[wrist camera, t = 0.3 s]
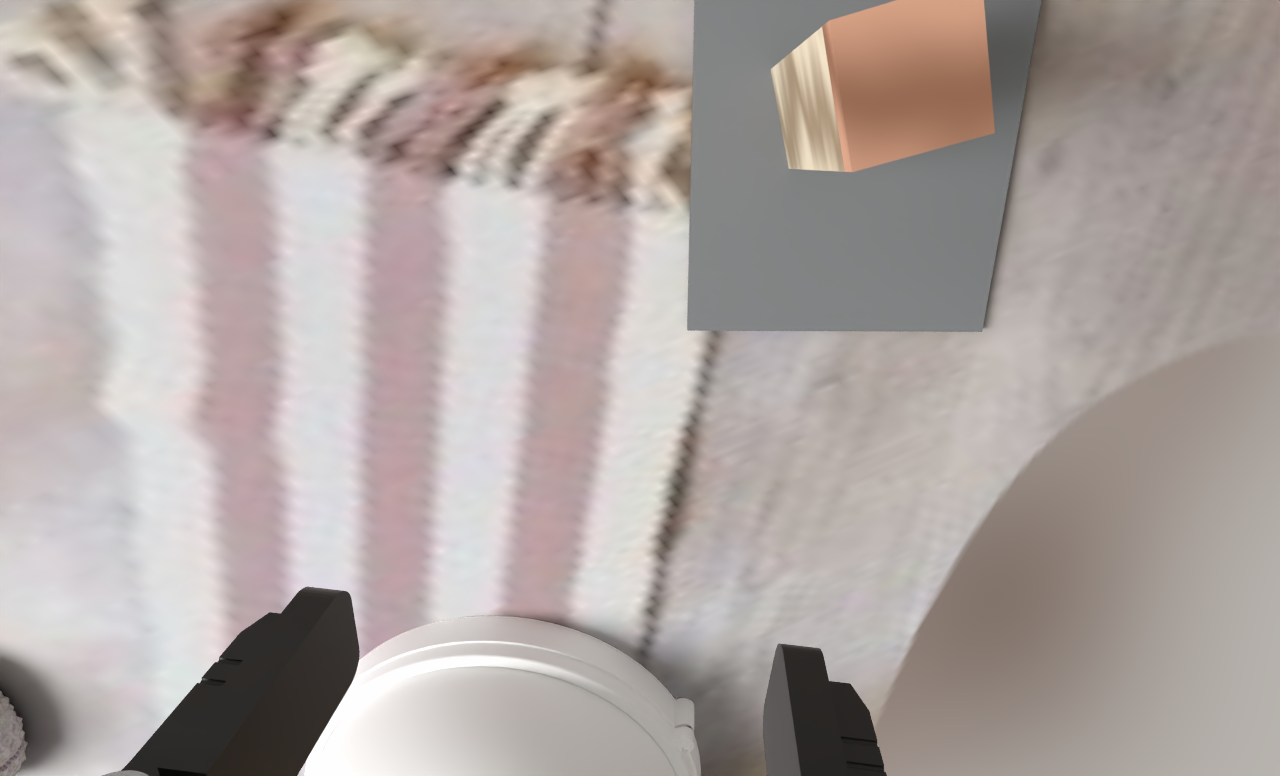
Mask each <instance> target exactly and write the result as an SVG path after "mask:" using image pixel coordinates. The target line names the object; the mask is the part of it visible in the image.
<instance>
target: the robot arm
mask: <svg viewBox="0 0 1280 776" xmlns="http://www.w3.org/2000/svg"><path fill="white" fill-rule="evenodd" d="M358 662H359V644H358V638H357V631H356V625H355V619H354V613H353V607H352V600H351V596H350V594H349V593H348V592H346V591H339V590H331V589H322V588H314V587H305V588H303V589H302V590H300V591H299V592H298V593H297V594H296V596H295V597H294V598H293V599H292V601H291V602H290V603H289V604H288V605H287V607H286V608H285V609H284V610H283V612H282V613H281V614H279V613H268V614H267V615H265V616H264V617H262V618H261V619H259V620H258V621H257V622H255V623H254V624H252V625H251V626H249V627H248V628H246V629H245V630H243V631H242V632H241V633H240V634H239V635H238V636H237V637H236V638H235V640H234V641H233V642H232V643H231V644H230V645H229V647H228V648H227V649H226V650H225V651H224V652H223V654H222V655H221V656H220V657H219V661H218V662H215V663H214V664H213V665H212V666H211V668H210V669H209V670H208V671H207V672H206V673H205V675H204V676H203V677H202V680H201V682H200V683H197V684H196V685H195V686H194V687H193V689H192V690H191V691H190V692H189V693H188V694H187V696H186V697H185V698H184V699H183V700H182V701H181V703H180V704H179V705H178V706H177V707H176V708H175V710H174V711H173V712H172V713H171V714H170V716H169V717H168V718H167V719H166V720H165V721H164V723H163V724H162V725H161V726H160V727H159V728H158V730H157V731H156V732H155V733H154V734H153V735H152V737H151V738H150V739H149V740H148V741H147V742H146V744H145V745H144V746H143V747H142V748H141V749H140V751H139V752H138V753H137V754H136V755H135V756H134V758H133V759H132V760H131V761H130V762H129V763H128V764H127V765H126V766H125V767H124V768H123V769H122V770H121V771H118V772H113V773H109V774H106V775H103V776H297V775H298V773H299V771H300V770H301V768H302V766H303V765H304V763H305V761H306V760H307V758H308V756H309V755H310V753H311V751H312V750H313V748H314V746H315V745H316V743H317V741H318V739H319V738H320V736H321V734H322V733H323V731H324V729H325V728H326V726H327V724H328V723H329V721H330V719H331V718H332V716H333V714H334V713H335V711H336V709H337V707H338V706H339V704H340V702H341V701H342V699H343V697H344V696H345V694H346V692H347V691H348V689H349V687H350V685H351V684H352V681H353V679H354V677H355V674H356V671H357V667H358ZM763 736H764V747H765V758H766V768H767V776H887V775H886V772H884V764H883V760H882V756H881V753H880V749H879V747H878V746H877V738H876V734H875V731H874V727H873V723H872V720H871V716H870V712H869V710H868V709H867V707H866V706H865V704H864V703H863V701H862V700H861V698H860V697H859V696H858V694H857V693H856V691H855V690H854V688H853V687H852V686H851V684H849V683H840V682H832V681H829V680H828V675H827V671H826V666H825V661H824V657H823V653H822V651H821V649H819V648H812V647H803V646H795V645H786V644H778V646H777V648H776V652H775V657H774V661H773V666H772V671H771V675H770V680H769V685H768V689H767V694H766V699H765V705H764V716H763Z"/></svg>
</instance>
